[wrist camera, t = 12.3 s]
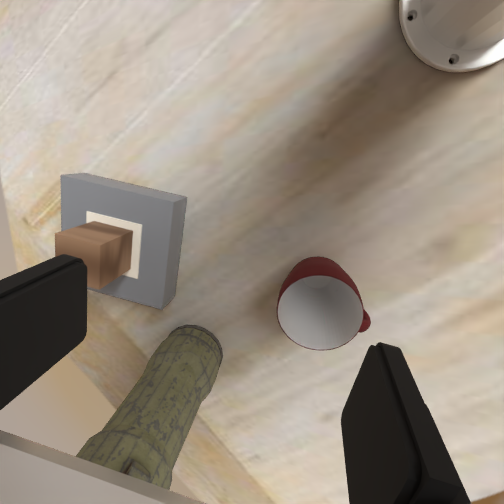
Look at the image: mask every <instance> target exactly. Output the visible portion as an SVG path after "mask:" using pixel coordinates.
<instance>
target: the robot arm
mask: <svg viewBox="0 0 504 504" xmlns="http://www.w3.org/2000/svg"><path fill="white" fill-rule="evenodd" d="M407 17H411V18H412V21H409V20H408V19H407ZM399 20H400V24H401V29H402V33H403V35H404V38H405V40H406V42H407V44H408V46H409V47H410V49H411V50H412V51H413V53H414V54H415V55H416V56H417V57H418V58H419V59H421V60H422V61H423V62H424V63H425V64H427V65H429V66H432V67H434V68H436V69H439V70H443V71H447V72H467V71H473V70H478V69H481V68H484V67H486V66H489V65H492V64H494V63H496V62H498V61H500V60H502V59H504V0H399ZM449 59H451V60H452V64H450V63H449ZM86 332H87V266H86V265H85V264H84V261H83V260H82V259H81V258H77V257H74V256H70V255H67V254H62V255H59V256H57V257H54V258H52V259H49V260H47V261H45V262H42V263H40V264H38V265H35V266H33V267H30V268H28V269H26V270H23V271H21V272H19V273H16V274H14V275H12V276H9V277H7V278H4V279H2V280H0V410H1V409H2V408H4V407H5V406H6V405H7V404H8V403H9V402H11V401H12V400H13V399H14V398H15V397H16V396H18V395H19V394H20V393H21V392H23V391H24V390H25V389H26V388H27V387H29V386H30V385H31V384H32V383H33V382H34V381H36V380H37V379H38V378H39V377H40V376H42V375H43V374H44V373H45V372H46V371H48V370H49V369H50V368H51V367H52V366H53V365H55V364H56V363H57V362H58V361H60V360H61V359H62V358H63V357H64V356H66V355H67V354H68V353H69V352H70V351H71V350H73V349H74V348H75V347H76V346H77V345H79V344H80V343H81V342H82V341H83V339H84V338H85V336H86ZM341 427H342V436H343V446H344V455H345V465H346V474H347V484H348V493H349V503H350V504H471V502H470V500H469V498H468V496H467V493H466V491H465V489H464V487H463V485H462V482H461V480H460V478H459V476H458V473H457V471H456V469H455V467H454V464H453V462H452V460H451V458H450V455H449V453H448V451H447V449H446V447H445V444H444V442H443V440H442V438H441V435H440V433H439V431H438V429H437V426H436V424H435V422H434V420H433V418H432V415H431V413H430V411H429V409H428V407H427V406H426V404H425V403H424V401H423V399H422V396H421V394H420V392H419V390H418V387H417V385H416V383H415V381H414V378H413V376H412V374H411V372H410V369H409V367H408V365H407V362H406V360H405V358H404V356H403V353H402V351H401V349H400V348H398V347H395V346H391V345H388V344H384V343H381V342H379V343H378V344H377V345H376V346H373V345H371V346H370V347H369V349H368V351H367V354H366V356H365V358H364V361H363V363H362V366H361V368H360V370H359V373H358V375H357V378H356V380H355V382H354V385H353V387H352V390H351V392H350V395H349V397H348V399H347V402H346V404H345V407H344V409H343V412H342V417H341ZM0 504H206V503H203V502H201V501H198V500H195V499H192V498H189V497H187V496H184V495H181V494H178V493H176V492H173V491H170V490H168V489H165V488H162V487H159V486H156V485H154V484H151V483H148V482H145V481H142V480H140V479H137V478H134V477H131V476H128V475H126V474H123V473H120V472H117V471H114V470H112V469H109V468H106V467H103V466H100V465H98V464H95V463H92V462H89V461H86V460H84V459H81V458H78V457H75V456H72V455H70V454H67V453H64V452H61V451H58V450H55V449H53V448H50V447H47V446H44V445H41V444H39V443H35V442H33V441H30V440H27V439H24V438H21V437H19V436H16V435H13V434H10V433H7V432H4V431H1V430H0Z"/></svg>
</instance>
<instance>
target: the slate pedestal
mask: <svg viewBox="0 0 504 504" xmlns="http://www.w3.org/2000/svg"><path fill="white" fill-rule="evenodd" d="M186 203H187V197H184V196H180V195H176V194H171V193H167V192H163V191H159V190H154V189H150V188H146V187H142V186H138V185H133V184H129V183H125V182H121V181H116V180H112V179H108V178H104V177H99V176H95V175H91V174H87V173H78V174H67V175H61V228H62V231H64V230H67V229H70V228H74V227H77V226H80V225H83V224H86V223H89V222H92V221H97V222H100V223H104V224H108V225H112V226H116V227H120V228H124V229H128V230H132V231H133V240H132V255H131V269H130V270H129V271H127V272H125V273H124V274H122V275H121V276H119V277H118V278H116V279H115V280H113V281H112V282H110V283H109V284H107V285H106V286H104V287H103V288H101V289H100V290H98V289H95V288H91V287H87V289H89V290H93V291H96V292H100V293H103V294H107V295H111V296H114V297H118V298H121V299H125V300H129V301H132V302H136V303H139V304H143V305H147V306H150V307H154V308H157V309H161V310H162V309H163V308H164V307H165V306H166V305H167V304H168V303H169V302H170V301H171V299H172V298H173V297H174V296H175V291H176V283H177V275H178V267H179V259H180V251H181V243H182V235H183V227H184V219H185V211H186Z"/></svg>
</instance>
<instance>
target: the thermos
mask: <svg viewBox="0 0 504 504" xmlns="http://www.w3.org/2000/svg"><path fill="white" fill-rule="evenodd" d="M222 357H223V355H222V348H221V345H220V343H219V341H218V340H217V339H216V337H215V336H214V335H213V334H212V333H211V332H209V331H208V330H206V329H205V328H202V327H199V326H196V325H184V326H181V327H178V328H176V329H175V330H174V331H172V332H171V334H170V335H169V337H168V338H167V339H166V340H164V341H163V342H162V343H161V345H160V346H159V347H158V349H157V350H156V351H155V353H154V354H153V355H152V357H151V358H150V360H149V362H148V364H147V367H146V369H145V372H144V374H143V376H142V377H141V378H140V380H139V381H138V382H137V384H136V385H135V386H134V388H133V389H132V391H131V392H130V393H129V395H128V396H127V397H126V399H125V400H124V401H123V403H122V404H121V405H120V407H119V408H118V409H117V411H116V412H115V413H114V415H113V416H112V418H111V419H110V420H109V421H108V423H107V424H106V426H105V427H104V428H103V430H102V431H101V432H99V433H97V434H96V435H94V436H93V437H91V438H89V440H88V441H87V442H86V444H85V445H84V446H83V448H82V449H81V450H80V452H79V453H78V454H77V455H76V457H78V458H81V459H84V460H86V461H89V462H92V463H95V464H98V465H100V466H103V467H106V468H109V469H112V470H114V471H117V472H120V473H123V474H126V475H128V476H131V477H134V478H137V479H140V480H142V481H145V482H148V483H151V484H154V485H156V486H159V487H162V488H165V489H168V490H169V489H170V485H171V481H172V469H173V467H174V465H175V462H176V460H177V458H178V455H179V453H180V451H181V448H182V446H183V444H184V441H185V439H186V437H187V434H188V432H189V430H190V427H191V425H192V423H193V420H194V418H195V416H196V413H197V411H198V409H199V406H200V404H201V402H202V401H203V400H204V399H205V398H206V397H207V395H208V394H209V393H210V391H211V389H212V387H213V384H214V382H215V379H216V377H217V373H218V370H219V367H220V364H221V361H222Z"/></svg>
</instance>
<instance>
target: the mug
mask: <svg viewBox="0 0 504 504" xmlns="http://www.w3.org/2000/svg"><path fill="white" fill-rule="evenodd" d="M277 318H278V322H279V324H280V327H281V328H282V330H283V332H284V333H285V334H286V335H287V336H288V337H289V338H290V339H291V340H292V341H293V342H295V343H296V344H298V345H300V346H302V347H305V348H308V349H312V350H331V349H335V348H338V347H341V346H343V345H345V344H346V343H348V342H349V341H351V340H352V339H353V338H354V337H355V336H356V334H357V333H358V332H364V331H366V330H367V329H368V328H369V327H370V324H371V321H370V317H369V315H368V314H367V312H366V311H365V310H364V308H363V303H362V300H361V297H360V294H359V291H358V289H357V287H356V285H355V283H354V282H353V280H352V279H351V278H350V277H349V275H348V274H347V273H346V272H345V271H344V270H343V269H342V268H341V267H340V266H339V265H338V264H337V263H335V262H334V261H332V260H330V259H328V258H324V257H310V258H307V259H304V260H303V261H301V262H299V263H298V264H297V265H296V266H295V267H294V268H293V270H292V271H291V272H290V274H289V275H288V277H287V278H286V280H285V281H284V283H283V285H282V287H281V290H280V293H279V297H278V303H277Z"/></svg>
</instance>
